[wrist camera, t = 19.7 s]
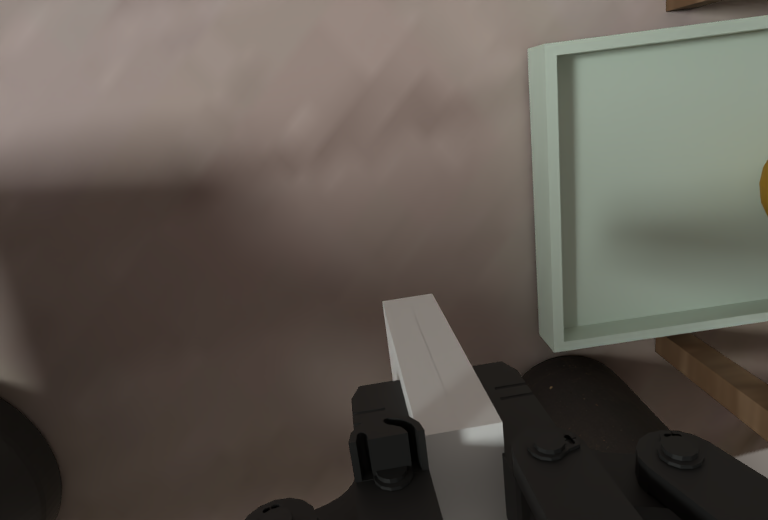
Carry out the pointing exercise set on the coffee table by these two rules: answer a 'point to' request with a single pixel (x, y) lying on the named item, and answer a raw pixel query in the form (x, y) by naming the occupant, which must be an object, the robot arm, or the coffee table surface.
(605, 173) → the tray
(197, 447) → the coffee table surface
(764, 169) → the apple
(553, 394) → the container
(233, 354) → the coffee table surface
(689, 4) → the riser
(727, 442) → the coffee table surface
